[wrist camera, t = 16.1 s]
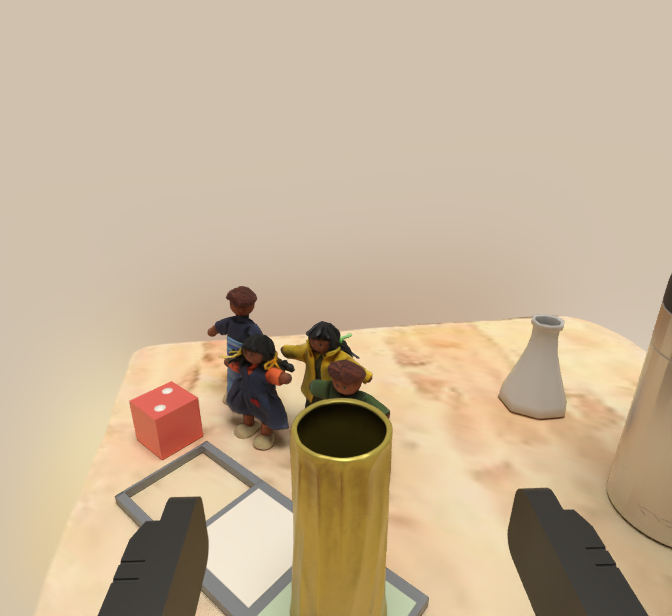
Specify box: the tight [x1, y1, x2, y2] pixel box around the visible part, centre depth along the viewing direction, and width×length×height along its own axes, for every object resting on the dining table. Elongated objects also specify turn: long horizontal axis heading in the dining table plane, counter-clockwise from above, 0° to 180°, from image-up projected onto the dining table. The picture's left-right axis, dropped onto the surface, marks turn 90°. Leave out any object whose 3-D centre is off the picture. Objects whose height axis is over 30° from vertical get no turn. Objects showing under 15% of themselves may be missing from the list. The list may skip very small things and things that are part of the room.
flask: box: [498, 314, 566, 419], centre depth 51 cm, size 7×7×10 cm
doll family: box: [208, 286, 390, 450], centre depth 46 cm, size 23×9×13 cm, turn 66°
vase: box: [289, 398, 393, 616], centre depth 27 cm, size 6×6×14 cm
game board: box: [115, 441, 429, 616], centre depth 35 cm, size 9×24×1 cm, turn 50°
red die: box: [129, 381, 203, 460], centre depth 46 cm, size 4×4×5 cm
